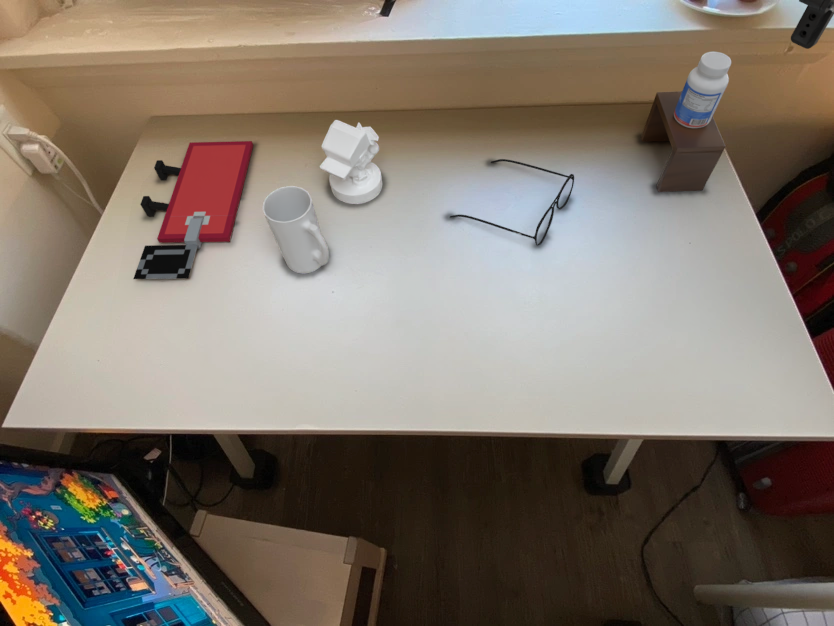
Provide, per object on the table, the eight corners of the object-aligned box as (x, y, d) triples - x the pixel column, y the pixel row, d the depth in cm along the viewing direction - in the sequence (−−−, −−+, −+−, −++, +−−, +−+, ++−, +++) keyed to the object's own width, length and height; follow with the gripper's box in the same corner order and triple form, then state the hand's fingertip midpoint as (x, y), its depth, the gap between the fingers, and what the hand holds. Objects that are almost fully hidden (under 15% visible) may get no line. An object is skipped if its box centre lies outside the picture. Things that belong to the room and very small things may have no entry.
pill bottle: (685, 101, 87) (709, 42, 79) (716, 116, 85) (745, 58, 77) (665, 119, 85) (688, 60, 77) (697, 135, 83) (724, 76, 75)
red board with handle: (123, 283, 85) (221, 281, 84) (114, 271, 83) (215, 270, 82) (172, 149, 101) (254, 147, 101) (165, 136, 99) (249, 134, 98)
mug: (275, 259, 86) (252, 206, 76) (307, 233, 89) (289, 178, 79) (319, 294, 82) (300, 243, 72) (351, 266, 85) (338, 212, 75)
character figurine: (392, 179, 94) (385, 120, 84) (358, 215, 90) (347, 158, 80) (351, 160, 97) (339, 102, 87) (316, 195, 93) (300, 138, 83)
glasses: (535, 253, 84) (536, 230, 80) (450, 225, 90) (447, 202, 86) (573, 192, 90) (576, 168, 86) (491, 169, 96) (490, 146, 92)
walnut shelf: (702, 190, 89) (725, 146, 82) (657, 192, 90) (677, 148, 82) (681, 135, 96) (701, 90, 89) (640, 137, 96) (656, 92, 89)
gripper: (957, -143, 37) (820, 74, 51) (1054, -202, 41) (903, 14, 55) (849, -173, 40) (748, 39, 54) (948, -224, 45) (831, -16, 58)
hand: (826, 26), depth 55 cm, fingers open, 8 cm apart
